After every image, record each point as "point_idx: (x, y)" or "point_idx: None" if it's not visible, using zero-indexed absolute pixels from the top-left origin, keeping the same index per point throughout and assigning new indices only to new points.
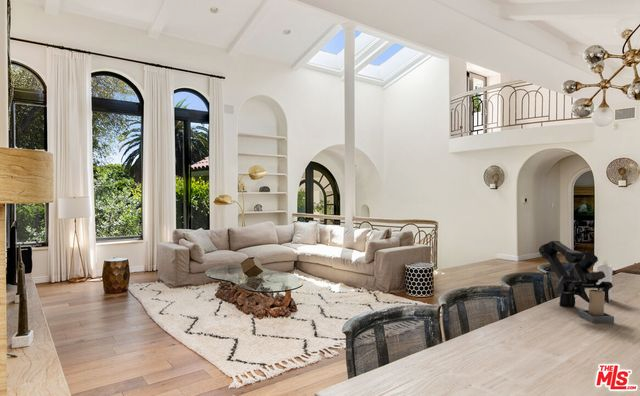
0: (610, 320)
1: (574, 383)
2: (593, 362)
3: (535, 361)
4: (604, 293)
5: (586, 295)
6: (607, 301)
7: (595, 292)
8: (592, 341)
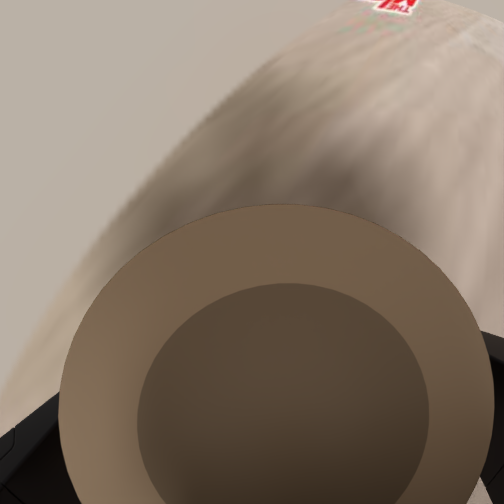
0: None
1: (442, 3)
2: (417, 18)
3: (495, 42)
4: (134, 273)
5: (496, 346)
6: None
7: (410, 250)
8: (409, 73)
